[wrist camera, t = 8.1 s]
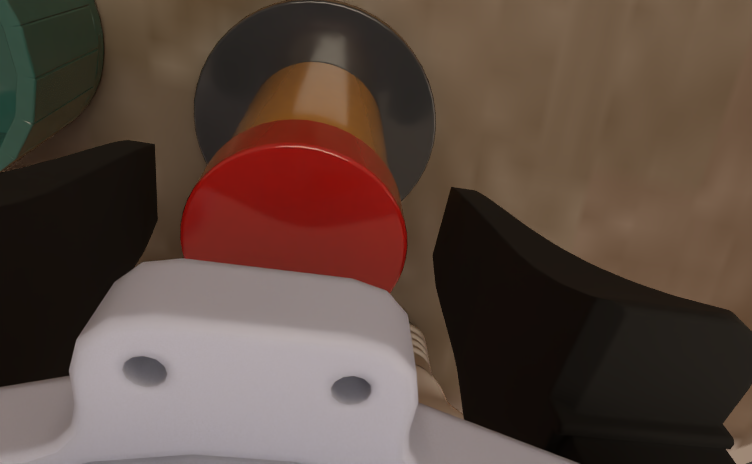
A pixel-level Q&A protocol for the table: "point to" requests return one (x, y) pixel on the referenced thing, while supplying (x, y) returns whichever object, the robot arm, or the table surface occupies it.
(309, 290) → the robot arm
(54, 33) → the cup
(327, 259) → the jar
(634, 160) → the table surface
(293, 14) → the coaster
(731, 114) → the table surface
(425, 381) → the lightbulb
